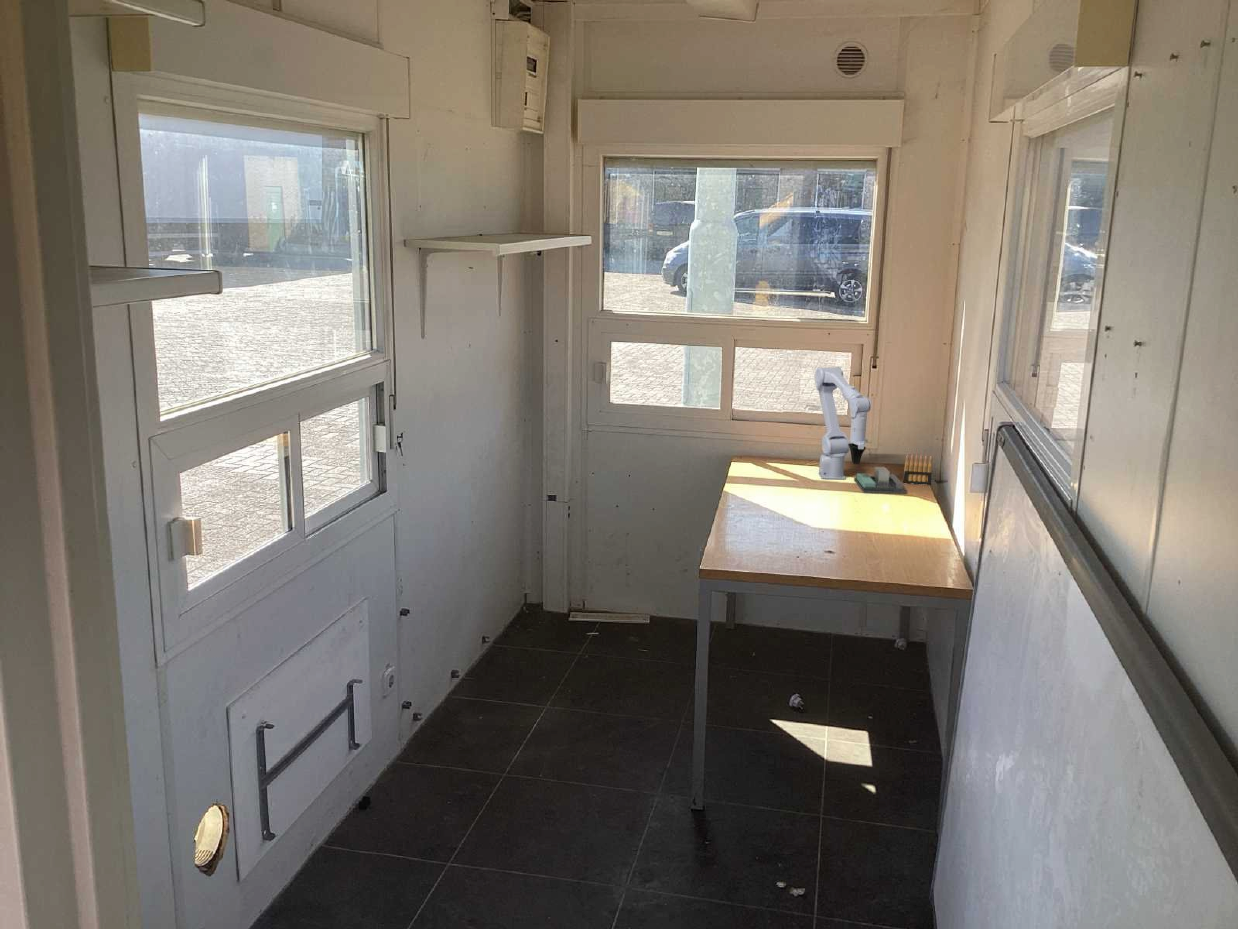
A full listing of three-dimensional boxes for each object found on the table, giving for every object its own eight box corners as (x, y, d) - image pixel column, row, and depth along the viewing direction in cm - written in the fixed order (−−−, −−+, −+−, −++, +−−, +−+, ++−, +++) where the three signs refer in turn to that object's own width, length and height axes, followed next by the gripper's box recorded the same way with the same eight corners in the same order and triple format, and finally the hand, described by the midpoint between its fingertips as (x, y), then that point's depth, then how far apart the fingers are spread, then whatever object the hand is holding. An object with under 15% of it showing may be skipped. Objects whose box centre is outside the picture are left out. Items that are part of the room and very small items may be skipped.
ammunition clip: (902, 483, 424) (905, 453, 421) (902, 482, 426) (905, 452, 422) (931, 485, 422) (933, 455, 419) (930, 484, 424) (933, 454, 421)
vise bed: (864, 493, 409) (864, 484, 408) (854, 480, 427) (854, 472, 426) (906, 493, 409) (907, 485, 408) (894, 481, 427) (895, 472, 426)
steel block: (877, 486, 415) (879, 471, 413) (873, 481, 421) (874, 466, 420) (888, 486, 415) (889, 471, 413) (883, 482, 421) (885, 467, 420)
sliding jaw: (864, 488, 411) (864, 483, 410) (856, 478, 424) (857, 473, 424) (875, 488, 411) (875, 483, 410) (866, 478, 424) (867, 473, 424)
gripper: (873, 433, 405) (870, 468, 408) (864, 424, 419) (861, 458, 423) (854, 432, 405) (851, 467, 408) (846, 424, 419) (843, 458, 422)
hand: (855, 463), depth 415 cm, fingers closed
